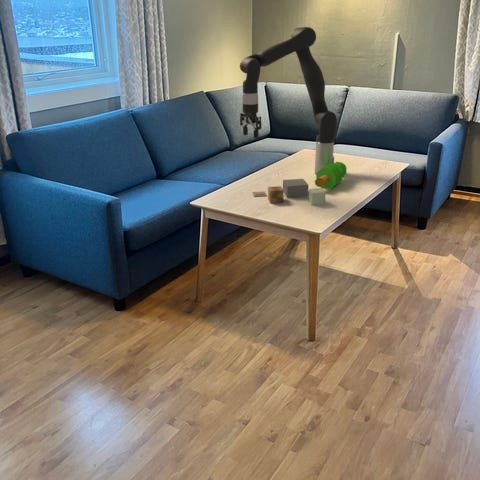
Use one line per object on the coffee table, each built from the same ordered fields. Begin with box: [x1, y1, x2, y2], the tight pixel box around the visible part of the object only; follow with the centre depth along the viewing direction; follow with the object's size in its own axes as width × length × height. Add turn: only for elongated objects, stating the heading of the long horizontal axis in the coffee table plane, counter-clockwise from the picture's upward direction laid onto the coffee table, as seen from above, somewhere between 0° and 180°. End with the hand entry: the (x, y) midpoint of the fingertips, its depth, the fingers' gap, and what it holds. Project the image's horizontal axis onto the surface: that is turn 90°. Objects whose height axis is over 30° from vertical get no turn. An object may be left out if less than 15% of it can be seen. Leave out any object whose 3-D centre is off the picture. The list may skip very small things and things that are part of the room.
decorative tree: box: [314, 161, 348, 190], centre depth 263 cm, size 11×12×30 cm
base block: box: [282, 178, 309, 199], centre depth 252 cm, size 10×10×6 cm
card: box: [252, 190, 268, 198], centre depth 253 cm, size 6×6×1 cm
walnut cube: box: [267, 185, 284, 204], centre depth 243 cm, size 6×6×6 cm
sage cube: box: [308, 187, 327, 206], centre depth 240 cm, size 6×6×6 cm
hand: (250, 136), depth 256 cm, fingers open, 8 cm apart
